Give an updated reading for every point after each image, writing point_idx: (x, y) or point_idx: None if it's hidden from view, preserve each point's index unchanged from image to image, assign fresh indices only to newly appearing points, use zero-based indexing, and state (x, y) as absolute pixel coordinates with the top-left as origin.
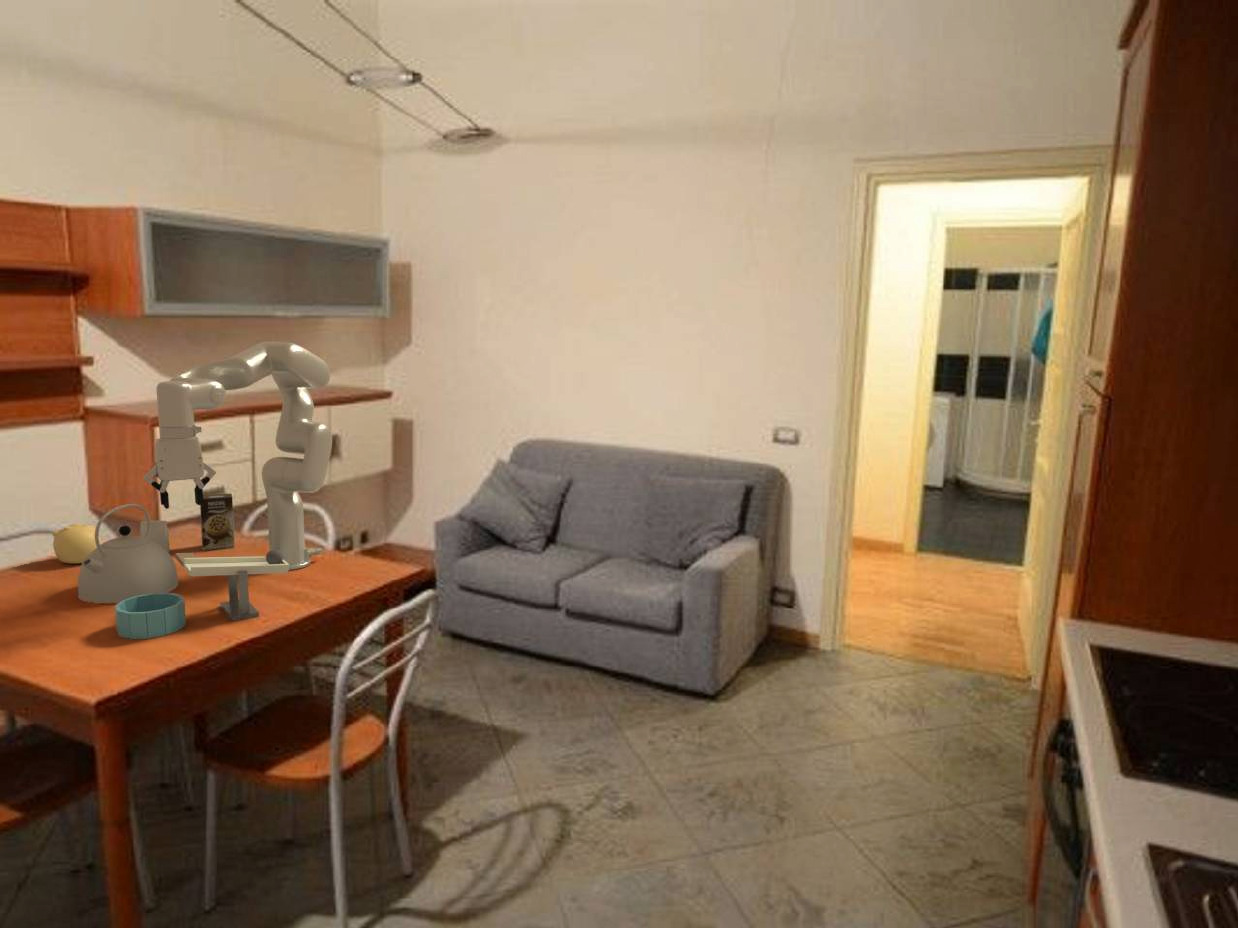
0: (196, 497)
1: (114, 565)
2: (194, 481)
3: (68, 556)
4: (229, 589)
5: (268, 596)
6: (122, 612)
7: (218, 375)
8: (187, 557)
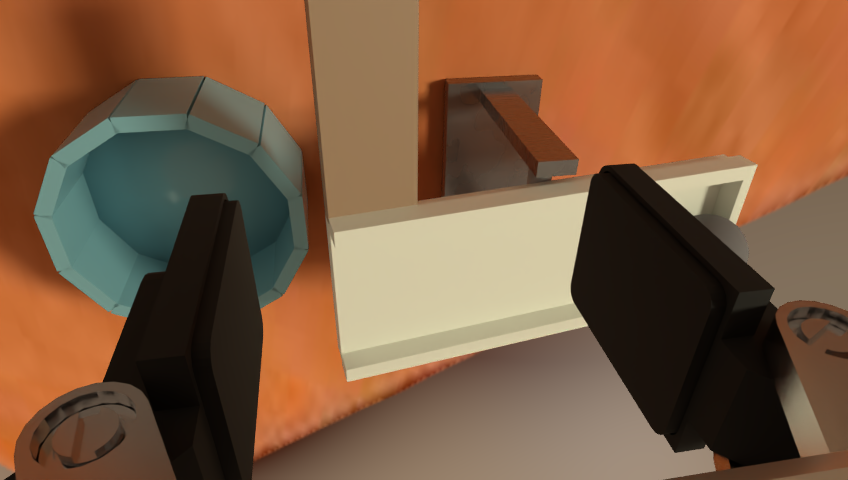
0: (614, 303)
1: None
2: (795, 434)
3: None
4: (495, 121)
5: (624, 52)
6: (83, 292)
7: None
8: (365, 99)
